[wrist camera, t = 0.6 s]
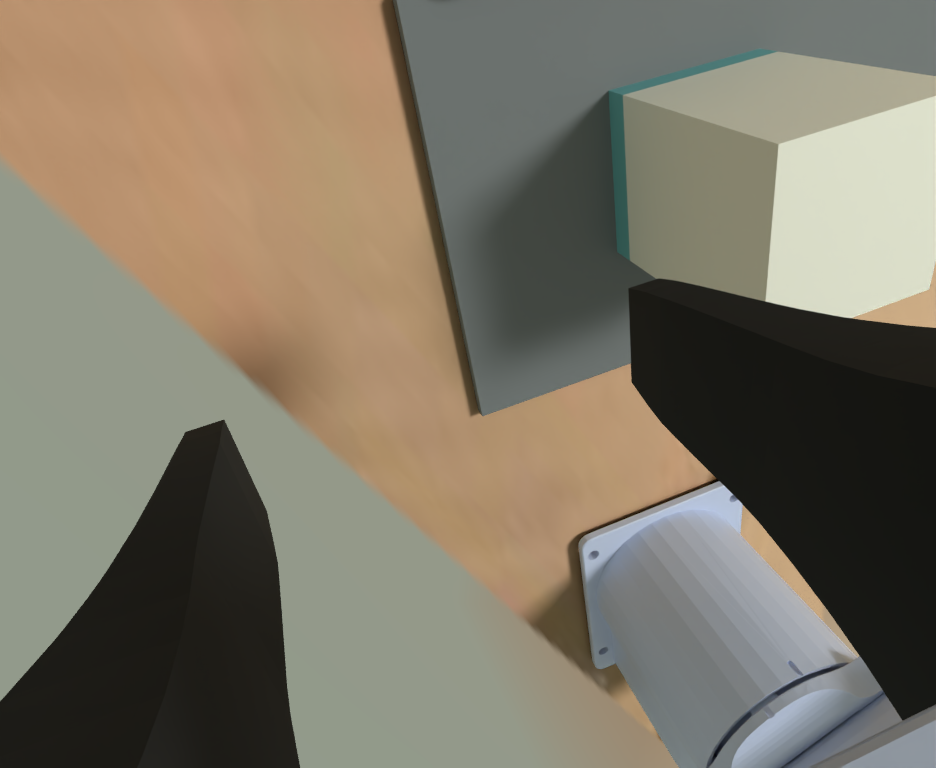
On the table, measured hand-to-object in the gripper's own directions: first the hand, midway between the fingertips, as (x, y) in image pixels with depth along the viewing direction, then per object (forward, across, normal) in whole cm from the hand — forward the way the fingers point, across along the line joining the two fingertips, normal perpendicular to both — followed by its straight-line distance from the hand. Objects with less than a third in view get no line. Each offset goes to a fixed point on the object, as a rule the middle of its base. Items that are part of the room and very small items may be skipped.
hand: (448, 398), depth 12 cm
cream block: (+9, -11, +1) cm, 14 cm away
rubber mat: (+9, -12, +1) cm, 15 cm away
